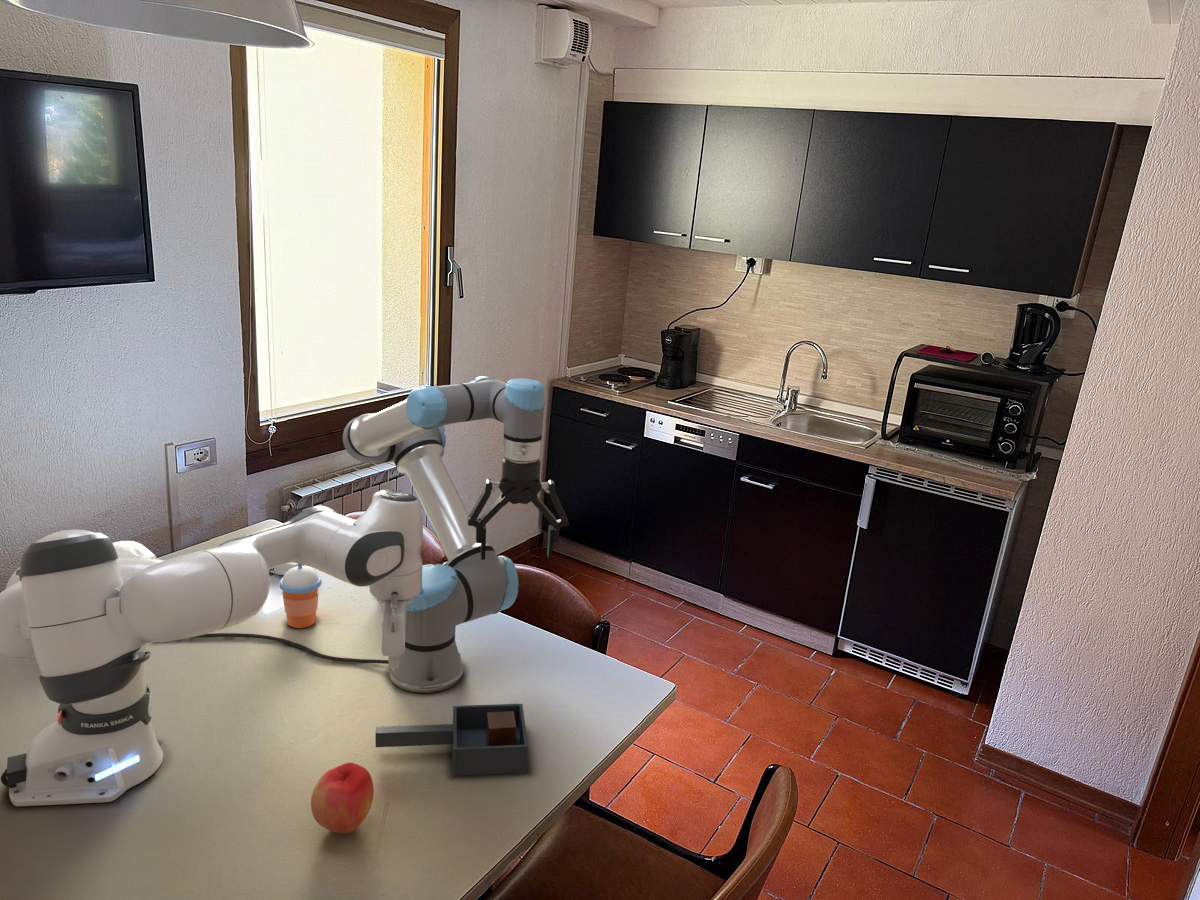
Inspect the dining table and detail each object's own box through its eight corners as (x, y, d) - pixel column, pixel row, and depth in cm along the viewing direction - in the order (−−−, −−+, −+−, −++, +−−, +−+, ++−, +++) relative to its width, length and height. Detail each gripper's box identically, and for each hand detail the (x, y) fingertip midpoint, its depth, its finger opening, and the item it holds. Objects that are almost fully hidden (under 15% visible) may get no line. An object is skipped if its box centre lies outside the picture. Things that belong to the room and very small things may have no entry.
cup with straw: (309, 634, 194) (307, 561, 188) (272, 627, 195) (269, 555, 190) (329, 615, 202) (328, 546, 197) (294, 609, 204) (292, 540, 198)
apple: (348, 797, 145) (348, 747, 142) (386, 823, 140) (386, 772, 137) (300, 828, 137) (298, 775, 134) (338, 857, 132) (337, 803, 129)
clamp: (253, 565, 223) (254, 542, 221) (265, 560, 226) (266, 537, 224) (309, 593, 215) (310, 569, 213) (320, 588, 218) (321, 564, 216)
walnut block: (487, 756, 157) (489, 728, 155) (485, 739, 162) (486, 712, 160) (514, 754, 158) (516, 727, 156) (512, 738, 163) (513, 710, 161)
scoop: (372, 779, 150) (372, 752, 148) (378, 733, 162) (378, 708, 160) (526, 772, 155) (528, 746, 153) (520, 728, 167) (522, 703, 165)
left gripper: (413, 609, 137) (412, 684, 141) (416, 555, 156) (415, 623, 160) (372, 609, 136) (372, 685, 140) (380, 555, 155) (380, 623, 159)
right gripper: (457, 463, 162) (454, 564, 168) (587, 465, 167) (579, 564, 173) (457, 450, 169) (454, 549, 175) (581, 453, 174) (574, 549, 180)
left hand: (395, 651), depth 150 cm, fingers open, 8 cm apart
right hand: (516, 557), depth 174 cm, fingers open, 13 cm apart
